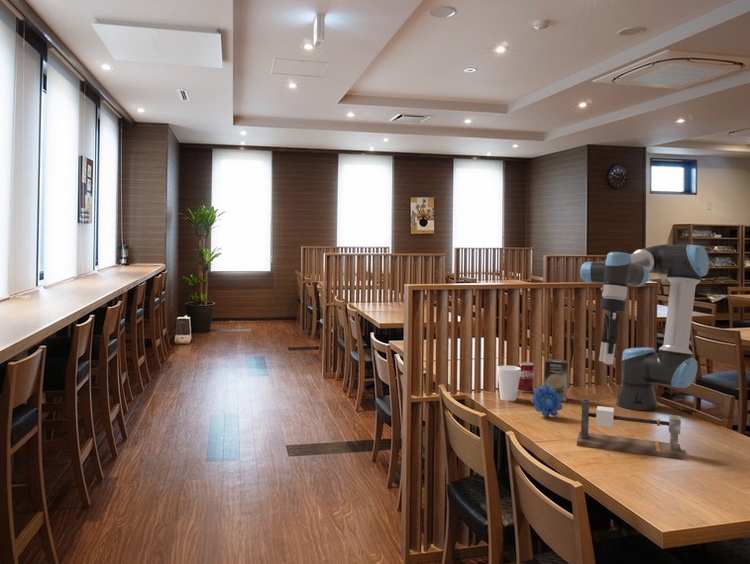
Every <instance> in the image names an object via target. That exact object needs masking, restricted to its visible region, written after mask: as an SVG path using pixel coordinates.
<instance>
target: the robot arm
mask: <svg viewBox="0 0 750 564" xmlns="http://www.w3.org/2000/svg"><path fill="white" fill-rule="evenodd" d="M709 268H710V259H709V255H708V252H707V250H706V249H705V248H704V247H703V246H702V245H698V244H696V245H695V244H689V243H688V244H657V245H652V246H648V247H645V248H641V249H637V250H635V251H634V252H633V253H627V252H620V251H611V252H608V253H607V256H606V259H605V260H601V261H585V262H583V263H582V265H581V267H580V271H579V273H580V278H581V280H582V281H583V282H585V283H590V284H602V285H603V286H602V287H600V291H602V293H601V297H603V298H601V300H600V307H599V308H600V310H603V311H607V312H605V314H604V316H603V326H602V333H601V337H600V339H601V340H600V341H601V342H600V352H599V358H598V361H599V362H603V364H605V365H614V360H615V351H616V343H617V342H618V328H619V327H618V325H619V315H620V314H619V313H624V312H625V309H626V303H627V302H626V301H625V300H626V299H627V295H628V286H631V287H642V286H643V285H645V284H646V283H647V282H648V280H649V277H650V275H649V274H660V275H666V280H667V281H668V282H669V293H668V303H667V311H666V318H665V319H666V320H665V328H664V338H663V344H662V345H661V346H660V347H659V348H658V349H657V350H658V351H657V352H656V350H655V347H654V348H653V347H630V348H626V349H624V350H623V352H622V355H621V356H622V357H621V385H620V388H619V390H618V393H617V395H616V398H615V404H616V405H617V406H619V407H620V408H621V407H622V408H625V409H629V410H635V411H654V410H657V409H658V400H657V398H656V397H657V396H656V393H655V389H654V384H658V385H663V386H667V387H672V388H681V389H686V388H688V387H690V386H691V385H692V383H693V382H695V378H696V377H697V373H698V368H699V367H698V366H699V365H698V361H697V360H696V358H694V357H693V352H692V350H690V348H689V347H690V337H691V329H692V321H693V310H694V303H695V302H694V301H695V293H696V286H697V285H698V284H700V283H701V280H702V277H706V275H707V274H708V272H709V270H710V269H709Z"/></svg>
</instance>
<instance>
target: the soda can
mask: <svg viewBox="0 0 750 564" xmlns="http://www.w3.org/2000/svg"><path fill="white" fill-rule="evenodd" d="M516 367H519V368H521V374H520V378H519V385H518V391H517V392H521V393H534V389H535V364H534V363H533V362H530V361H529V362H526V361H520V362H519V361H518V363H517V366H516Z"/></svg>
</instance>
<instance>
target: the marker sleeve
mask: <svg viewBox="0 0 750 564" xmlns="http://www.w3.org/2000/svg"><path fill="white" fill-rule="evenodd" d="M614 412H615V408H614V407H611V406H610V407H608V406H600V405H599V406H598V405H597V407H596V413H595V414H596V417H595V420H596V421H595V426H598V427H605V428H606V427H608V428H614V421H615V420H614V419H613V416H615V414H614Z"/></svg>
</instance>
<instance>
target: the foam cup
mask: <svg viewBox="0 0 750 564" xmlns="http://www.w3.org/2000/svg"><path fill="white" fill-rule="evenodd" d="M496 369H497V370H496V371H497V372H496V373H497V380H498V387H499V396H500V400H502V401H506V402H514V401H516V400H517V396H518V392H519V391H518V385H519V378H520V374H521V368H519V367H517V366H515V365H498V366H497V368H496Z"/></svg>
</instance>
